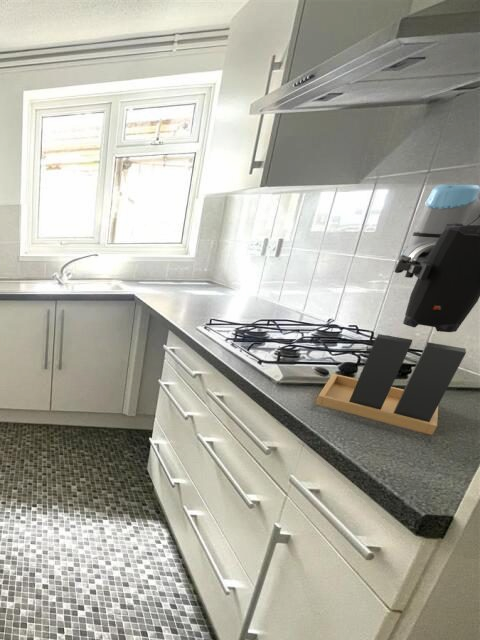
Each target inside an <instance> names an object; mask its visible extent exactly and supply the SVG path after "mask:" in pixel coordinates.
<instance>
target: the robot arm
mask: <svg viewBox="0 0 480 640" xmlns="http://www.w3.org/2000/svg"><path fill="white" fill-rule="evenodd" d="M449 223H462V224H463V225H480V185H478V184H438V185H437V186H435V187H433V188H432V190H431V192H430V194H429V196H428V198H427V199H426V200H425V202H424V207H423V209H422V211H421V214H420V216H419V219H418V221H417V224H416V226H415V228H414V231H413V234H412V235H411V237H410V240H409V242H408V245H407V246H406V247H404V248H403V250H402V251H401V254H400V255H399V257H398V259H397V261H396V263H395V266H394V270H393V272H394V273H396V274H400V273H403V272H406V273H405V275H404V278H409V279H412V278H413V277H414V276H415V277H416V278H417V279H418V278H419V279H420V280H426V279H427V276H428V274H429V272H430V270H431V268H432V265H431V264H429V263H426V259H427V257H428V255H429V253H430V252H431V250H432V249H433V247H434V245H435V244H436V242H437V241H438V239H439V237H440V236H441V234H442V233H443V231H444V230H445V227H446V225H447V224H449Z"/></svg>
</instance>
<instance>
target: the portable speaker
mask: <svg viewBox="0 0 480 640" xmlns="http://www.w3.org/2000/svg"><path fill="white" fill-rule="evenodd" d="M426 263H429V264H431V265H432V268H431V270H430V272H429V274H428V276H427V279H426V280H420V279H419V278H418V277H417V279H416V282H415V284H414V286H413V288H412V290H411V293H410V296H409V299H408V304H407V306H406V311H405V314H404V319H403V321H402V324H403V325H405V326H407V327H410V328H416V327H418V326H425V327H432V328H435V330H436V332H439V333H456V332H457V331H458V329H459V328H460V326H461V325H462V324H463V323H464V321H465V320H466V319H467V317H468V316H469V314H470V313H471V312H472V310H473V308H474V307H475V306H476V304H477V303H478V301H479V300H480V225H463V224H462V223H449V224H447V225H446V227H445V230H444V231H443V233H442V234H441V236H440V237H439V239H438V241H437V242H436V244H435V245H434V247H433V249H432V250H431V252H430V253H429V255H428V257H427V259H426Z"/></svg>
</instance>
